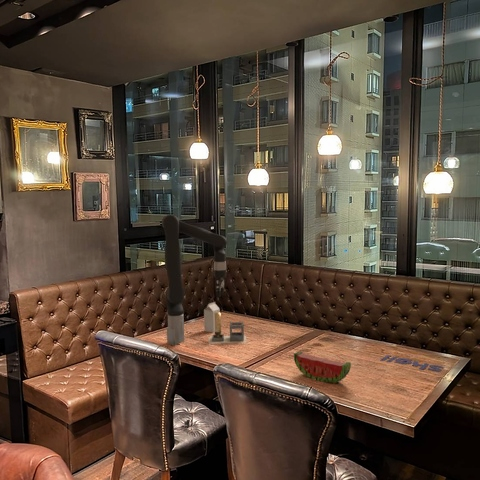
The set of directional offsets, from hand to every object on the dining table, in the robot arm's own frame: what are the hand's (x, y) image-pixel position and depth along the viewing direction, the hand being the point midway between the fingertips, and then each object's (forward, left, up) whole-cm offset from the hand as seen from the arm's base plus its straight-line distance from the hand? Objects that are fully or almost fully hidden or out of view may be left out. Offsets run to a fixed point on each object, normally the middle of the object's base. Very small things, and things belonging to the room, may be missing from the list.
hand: (220, 295), depth 260 cm
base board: (-2, -7, -26) cm, 27 cm away
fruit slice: (-9, -79, -27) cm, 84 cm away
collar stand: (-1, -8, -25) cm, 26 cm away
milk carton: (+5, +13, -26) cm, 30 cm away
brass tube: (-6, -4, -25) cm, 26 cm away
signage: (+37, -101, -27) cm, 111 cm away
